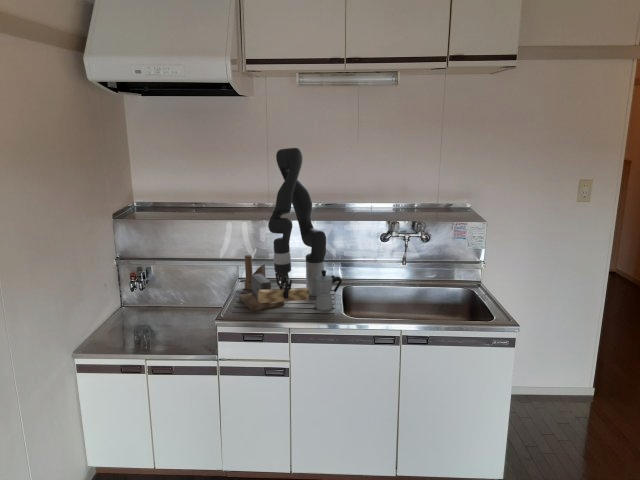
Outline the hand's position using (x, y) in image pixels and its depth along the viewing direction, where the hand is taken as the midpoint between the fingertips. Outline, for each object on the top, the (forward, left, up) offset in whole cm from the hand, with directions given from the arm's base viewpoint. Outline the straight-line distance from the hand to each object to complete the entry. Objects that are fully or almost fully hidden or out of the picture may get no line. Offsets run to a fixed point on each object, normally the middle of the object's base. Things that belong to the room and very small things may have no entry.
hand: (284, 296), depth 223 cm
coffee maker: (-19, +5, -7) cm, 21 cm away
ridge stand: (+6, -15, -7) cm, 18 cm away
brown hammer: (+3, -33, -7) cm, 34 cm away
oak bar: (0, 0, -2) cm, 2 cm away
